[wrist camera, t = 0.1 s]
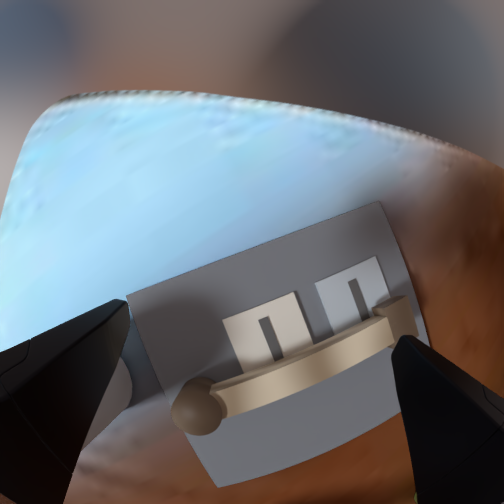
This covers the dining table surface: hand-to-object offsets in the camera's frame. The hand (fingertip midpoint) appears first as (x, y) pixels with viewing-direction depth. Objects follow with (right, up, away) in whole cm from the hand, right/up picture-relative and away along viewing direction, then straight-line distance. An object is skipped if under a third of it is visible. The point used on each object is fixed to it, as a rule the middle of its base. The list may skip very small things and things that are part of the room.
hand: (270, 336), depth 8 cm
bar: (+3, -6, +13) cm, 15 cm away
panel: (+4, -6, +14) cm, 16 cm away
